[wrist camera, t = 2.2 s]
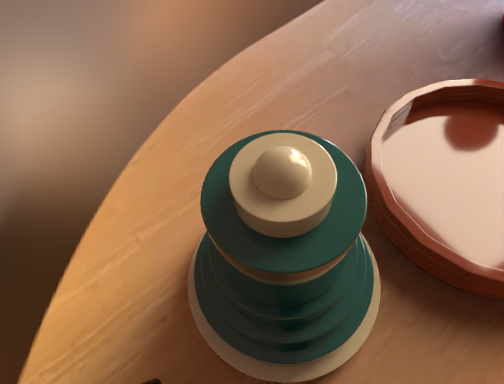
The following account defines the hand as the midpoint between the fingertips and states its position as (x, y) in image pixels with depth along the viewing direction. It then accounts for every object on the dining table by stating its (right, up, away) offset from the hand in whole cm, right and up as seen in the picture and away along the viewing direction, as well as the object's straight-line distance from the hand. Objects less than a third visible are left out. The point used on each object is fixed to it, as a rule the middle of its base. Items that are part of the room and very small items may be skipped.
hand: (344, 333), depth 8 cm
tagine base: (+13, +4, +16) cm, 21 cm away
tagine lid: (0, -2, +13) cm, 13 cm away
